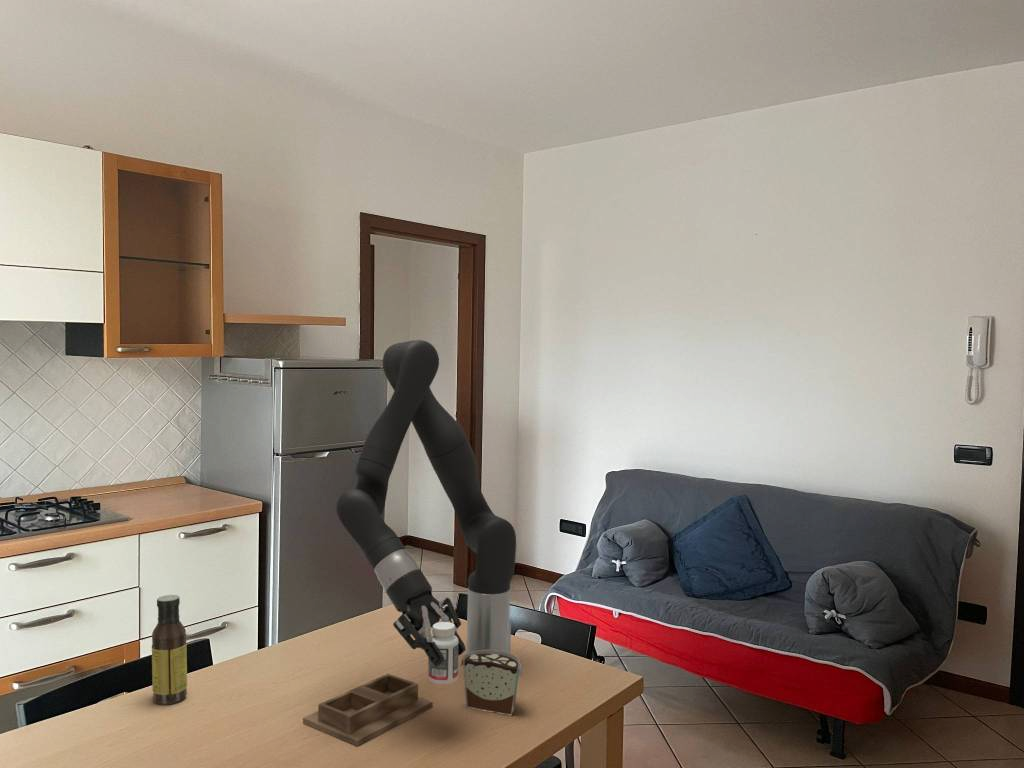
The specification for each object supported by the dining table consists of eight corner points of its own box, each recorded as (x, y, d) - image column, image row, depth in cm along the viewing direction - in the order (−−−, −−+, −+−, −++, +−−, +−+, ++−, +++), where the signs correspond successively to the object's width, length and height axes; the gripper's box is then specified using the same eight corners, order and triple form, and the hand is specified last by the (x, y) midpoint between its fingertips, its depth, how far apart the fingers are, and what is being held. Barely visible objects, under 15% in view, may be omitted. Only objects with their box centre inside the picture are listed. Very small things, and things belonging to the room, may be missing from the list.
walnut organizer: (379, 687, 164) (380, 668, 163) (432, 706, 156) (433, 686, 156) (302, 723, 147) (303, 701, 147) (357, 746, 139) (357, 723, 139)
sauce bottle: (187, 690, 160) (189, 591, 159) (186, 703, 154) (187, 600, 153) (152, 694, 158) (153, 593, 157) (149, 707, 152) (151, 603, 151)
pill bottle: (447, 670, 149) (447, 618, 148) (464, 679, 145) (464, 626, 144) (422, 677, 146) (423, 624, 145) (438, 687, 141) (439, 632, 141)
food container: (529, 704, 158) (530, 654, 158) (519, 717, 152) (521, 665, 152) (471, 694, 162) (472, 645, 162) (459, 706, 156) (460, 655, 156)
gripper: (386, 577, 143) (436, 659, 136) (438, 560, 154) (487, 635, 148) (364, 600, 146) (413, 682, 140) (417, 582, 158) (464, 656, 151)
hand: (451, 657), depth 144 cm, fingers closed on pill bottle, 5 cm apart
